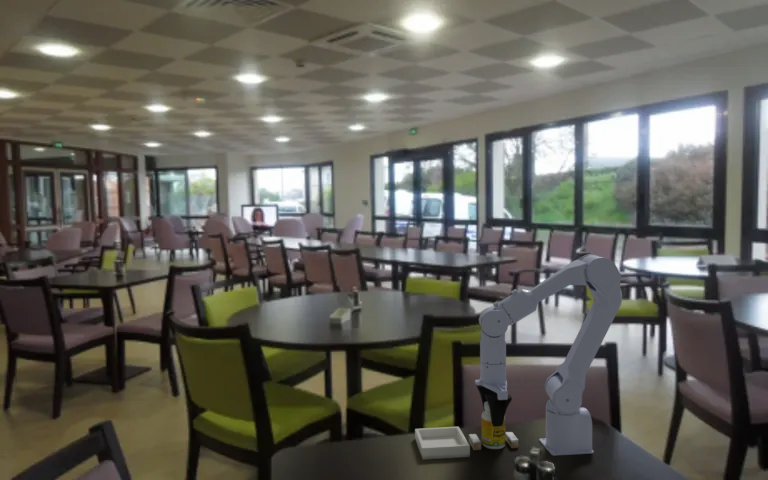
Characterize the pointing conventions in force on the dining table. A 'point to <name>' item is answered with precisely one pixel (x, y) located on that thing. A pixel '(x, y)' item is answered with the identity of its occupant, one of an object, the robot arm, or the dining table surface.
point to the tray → (441, 443)
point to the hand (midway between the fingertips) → (493, 420)
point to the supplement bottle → (492, 431)
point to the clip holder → (509, 438)
